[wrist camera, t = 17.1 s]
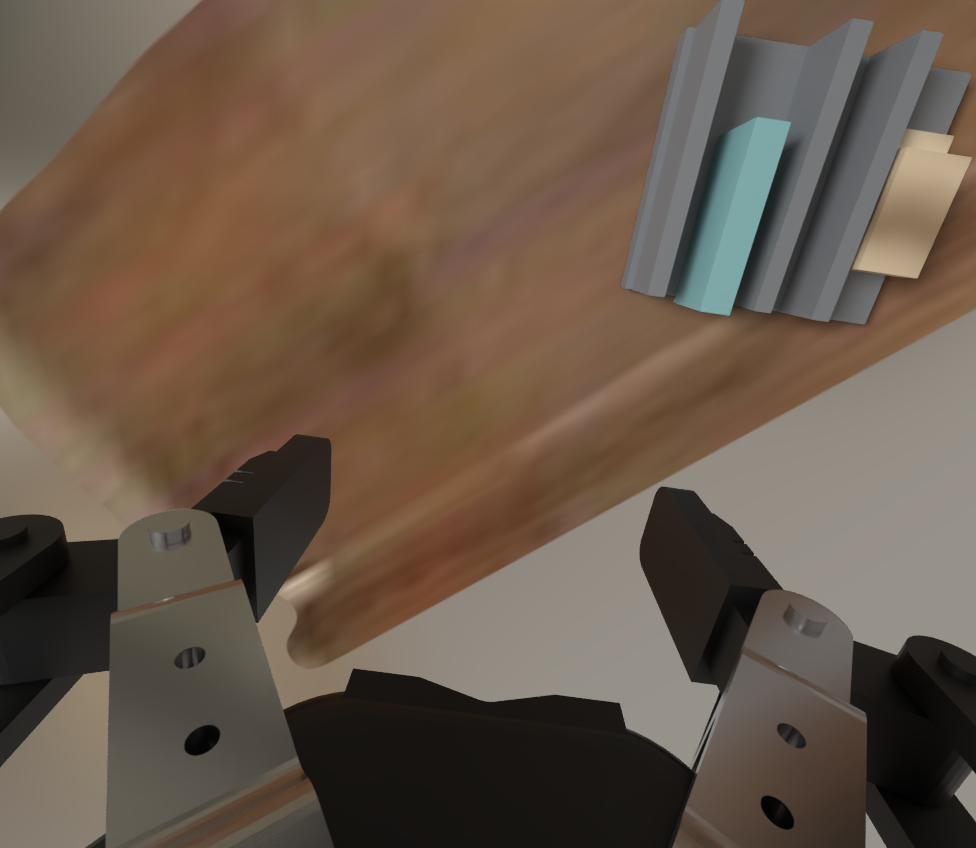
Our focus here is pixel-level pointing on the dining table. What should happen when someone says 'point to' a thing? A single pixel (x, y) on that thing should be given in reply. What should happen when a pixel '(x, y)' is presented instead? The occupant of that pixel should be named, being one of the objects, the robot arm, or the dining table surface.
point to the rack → (788, 156)
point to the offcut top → (909, 212)
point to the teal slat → (730, 214)
